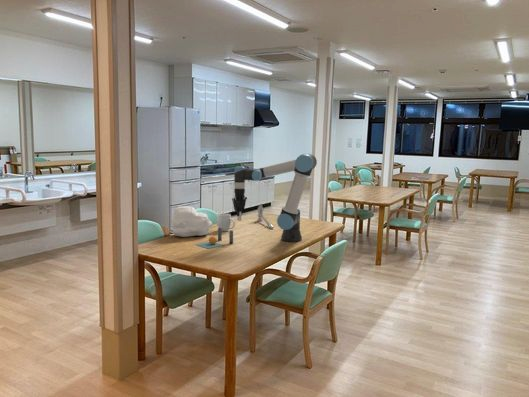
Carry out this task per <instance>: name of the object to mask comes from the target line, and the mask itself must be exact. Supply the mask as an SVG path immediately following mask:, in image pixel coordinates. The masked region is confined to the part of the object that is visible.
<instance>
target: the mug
mask: <svg viewBox="0 0 529 397" xmlns="http://www.w3.org/2000/svg"><path fill="white" fill-rule="evenodd" d="M216 224H217V229H218V228H222V231H225V232H228V231H230V230H231V229H234V228H235V225H236V222H235V220H234V218H232V215H231V213H223V212H222V213H217V214H216ZM231 224H232V226H231Z"/></svg>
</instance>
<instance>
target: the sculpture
mask: <svg viewBox="0 0 529 397" xmlns="http://www.w3.org/2000/svg"><path fill="white" fill-rule="evenodd" d="M211 227H213V222H212V221H211V220H210V219H209V217H208V214H206V213H205V212H201V211H197V210H196V208H194V207H193V206H190V205H187V206H186V205H185V206H183V205H182V206H178V207H176V208H175V209H174V210H173V214H172V220H171V228H172V233H173V235H174V236H176V237H182V238H188V237H195V236H200V237H201V236H205V235H208V234H209V232H210V228H211Z"/></svg>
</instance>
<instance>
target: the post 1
mask: <svg viewBox="0 0 529 397" xmlns="http://www.w3.org/2000/svg"><path fill="white" fill-rule="evenodd" d="M222 239H223V238H222V228H218V227H217V242H221V241H222Z"/></svg>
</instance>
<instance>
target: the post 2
mask: <svg viewBox="0 0 529 397" xmlns="http://www.w3.org/2000/svg"><path fill="white" fill-rule="evenodd" d="M228 231H229V232H228V233H229V234H228V236H229V239H228V241H229V243H228V244H229V245H233V244H234V230H228Z"/></svg>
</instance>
